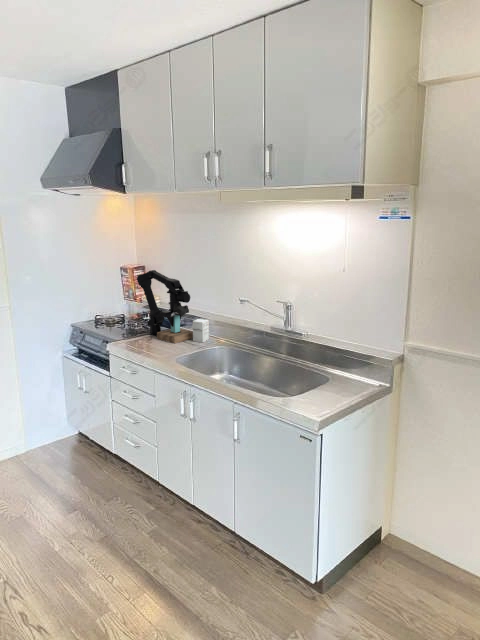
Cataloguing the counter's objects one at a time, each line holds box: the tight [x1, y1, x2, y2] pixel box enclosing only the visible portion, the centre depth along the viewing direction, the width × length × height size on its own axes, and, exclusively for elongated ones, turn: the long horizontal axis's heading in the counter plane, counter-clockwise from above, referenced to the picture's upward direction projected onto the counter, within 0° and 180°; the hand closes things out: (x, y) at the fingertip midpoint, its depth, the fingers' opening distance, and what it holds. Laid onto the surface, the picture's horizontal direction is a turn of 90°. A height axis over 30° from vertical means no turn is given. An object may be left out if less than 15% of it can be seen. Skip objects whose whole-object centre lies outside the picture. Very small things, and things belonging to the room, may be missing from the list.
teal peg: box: [170, 314, 181, 333], centre depth 293 cm, size 4×4×10 cm
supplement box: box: [192, 318, 210, 343], centre depth 289 cm, size 7×7×13 cm
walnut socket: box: [156, 328, 193, 344], centre depth 295 cm, size 16×16×4 cm
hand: (175, 325), depth 293 cm, fingers closed on teal peg, 4 cm apart
